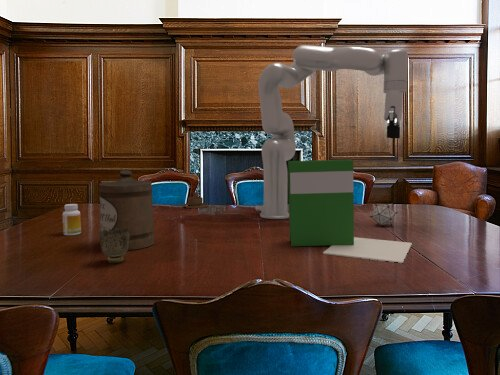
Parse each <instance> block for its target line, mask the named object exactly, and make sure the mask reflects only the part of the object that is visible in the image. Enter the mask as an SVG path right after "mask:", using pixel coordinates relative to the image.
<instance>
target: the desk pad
mask: <svg viewBox="0 0 500 375" xmlns="http://www.w3.org/2000/svg"><path fill="white" fill-rule="evenodd" d="M412 245H413V243H412V242H408V241H407V242H406V241H396V240H395V241H394V240H386V239H385V240H384V239H376V238H365V237H356V236H354V245H330V246H329V247H328V248H327V249H326V250H324V251H322V254H323V255H328V256H336V257H346V258H353V259H354V258H355V259H360V258H361V260H362V259H363V260H369V259H370V260H371V261H377V260H378V262H385V261H389V262H388V263H394V262H398V263H397V264H402V263H403V264H404V262H405V260H406V258H407V256H408V254H409V251H410V249H411V247H412ZM407 253H408V254H407ZM404 259H405V260H404ZM370 260H369V261H370Z"/></svg>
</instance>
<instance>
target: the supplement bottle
mask: <svg viewBox="0 0 500 375" xmlns="http://www.w3.org/2000/svg"><path fill="white" fill-rule="evenodd" d="M63 208H64V210H65V211H63V212H62V229H63V230H62V233H63V235H64V236H76V235H80V234H81V233H82V221H81V220H82V219H81V218H82V216H81V212H80V210H78V209H79V206H78V203H68V204H67V203H66V204H64V207H63Z"/></svg>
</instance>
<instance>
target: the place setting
mask: <svg viewBox="0 0 500 375" xmlns="http://www.w3.org/2000/svg"><path fill="white" fill-rule="evenodd" d="M203 199H204V197H202V196H200V197H199V192H198V191H193V193H192V196H191V197H188V198H187V203H183V204H182V207H186V208H185V209H187V208H201V209H207V208H208V209H213V208H214V207H215V206H214V205H210V206H209V204H208V203H206V202H204V200H203ZM186 205H190V206H186ZM201 205H205V206H201ZM208 206H209V207H208Z"/></svg>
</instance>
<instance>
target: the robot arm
mask: <svg viewBox="0 0 500 375" xmlns="http://www.w3.org/2000/svg"><path fill="white" fill-rule="evenodd" d="M292 61H293V62H292V63H291V64H290V65H286V64H284V63H281V62H273V63H270V64H269V65H267V66H266V67H265V68H264V69H263V70H262V72H261V73H260V75H259V78H258V81H257V82H258V85H257V86H258V87H257V88H258V96H259V104H260V117H261V126H262V129H263V132H265V133H266V134H268V135H272V138H268V139H267V140H266V141H265V142H264V143H263V144H262V147H261V157H262V158H261V159H262V166H263V204H262V205H255V211H257V212H258V211H259V212H260V213H259V217H260V218H263V219H268V220H269V219H270V220H282V219H283V220H285V219H289V211H288V183H289V182H288V164H287V162H288V161H291V159H293V157H294V156H295V153H296V137H295V128H294V122H293V120H292V117H291V116H290V115H289V114H288V113H286V112H284V110H283V103H282V96H281V94H280V89H279V88H281V89H282V88H283V89H285V90H288V89H293V88H295V87H297V85H299V84H301V82H303V81H304V80H306V79H307V78H309V77H310V76H311V75H313V74H314V73H315V72H316V71H324V72H331V73H332V72H337V71H338V70H353V71H361V72H364V73H366V74H367V75H369V76H373V77H374V76H380V75H383V93H384V94H385V100H384V115H383V119H384V121H385V122H387V126H386V138H387V139H400V137H401V135H400V134H401V133H400V132H401V131H400V130H401V127H400V126H401V123H400V121H401V120H402V115H403V103H404V102H403V100H404V99H403V97H404V93H407V91H408V90H407V89H408V88H407V87H408V68H409V67H408V66H409V65H408V64H409V54H408V51H407V50H405V49H403V48H402V49H398V48H397V49H391V50H388V51H386V52H385V53H383V54H382V53H380V52H379V51H378V50H376V49H374V48H370V47H361V46H360V47H359V46H337V47H335V46H324V45H323V46H321V45H312V44H311V45H310V44H301V45H298V46H297V47H296V48H295V49H294V51H293V54H292Z"/></svg>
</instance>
